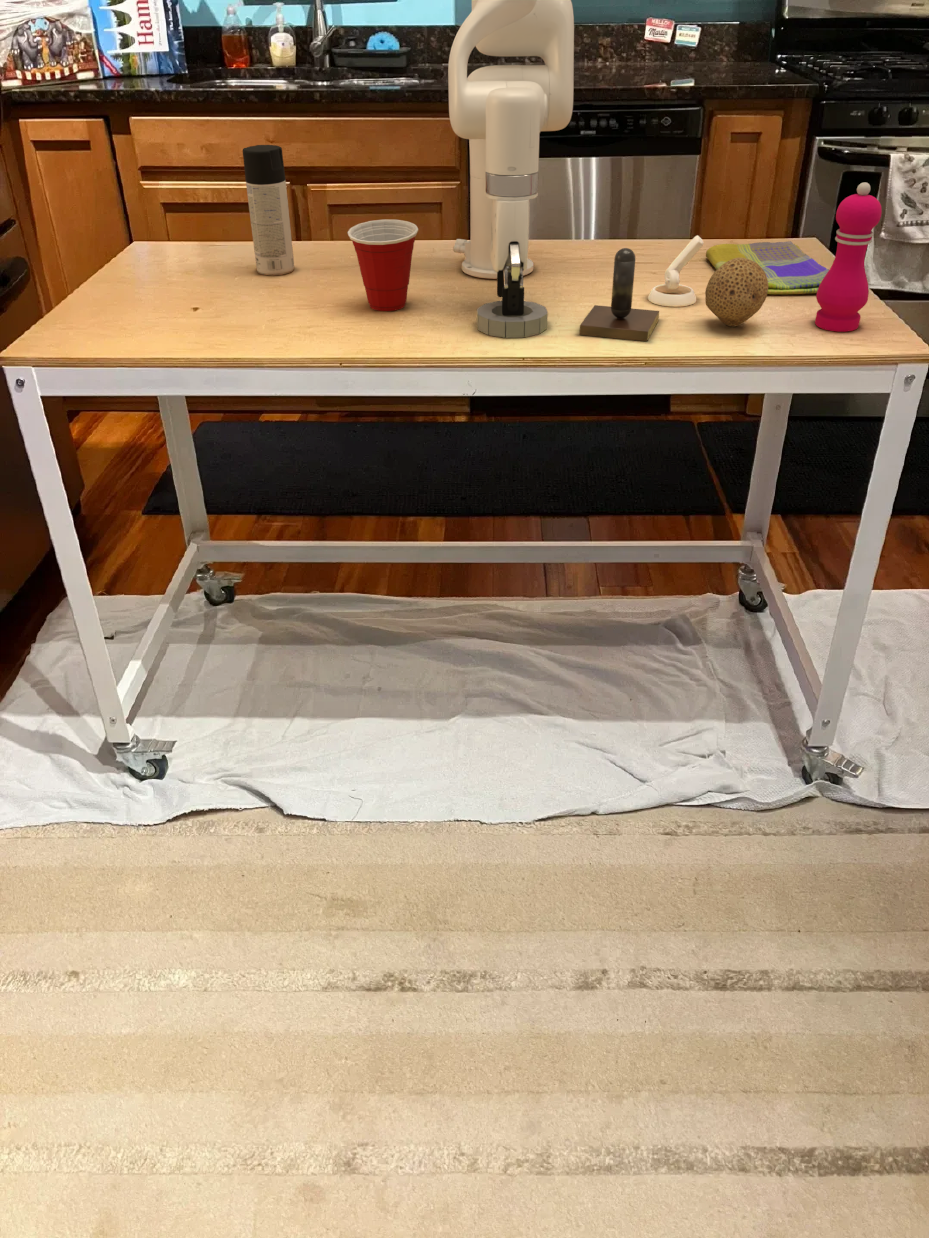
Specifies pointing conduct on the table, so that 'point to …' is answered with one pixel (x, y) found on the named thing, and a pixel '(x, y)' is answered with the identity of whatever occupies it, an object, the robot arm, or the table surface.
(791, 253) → the dish towel
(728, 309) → the natural sponge
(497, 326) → the grey ring
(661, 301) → the white lever handle
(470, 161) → the robot arm
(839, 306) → the pepper mill
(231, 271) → the table surface
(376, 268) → the plastic cup
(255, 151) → the spray can
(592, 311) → the spindle
